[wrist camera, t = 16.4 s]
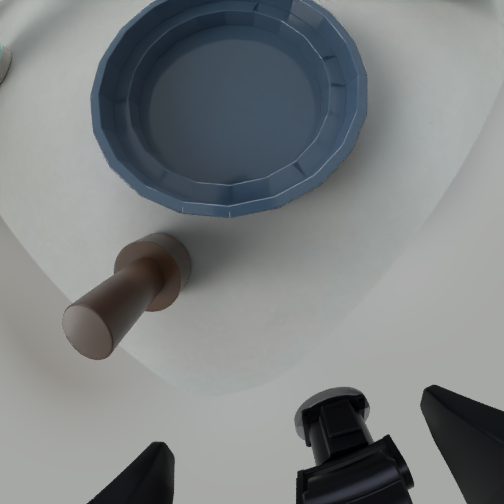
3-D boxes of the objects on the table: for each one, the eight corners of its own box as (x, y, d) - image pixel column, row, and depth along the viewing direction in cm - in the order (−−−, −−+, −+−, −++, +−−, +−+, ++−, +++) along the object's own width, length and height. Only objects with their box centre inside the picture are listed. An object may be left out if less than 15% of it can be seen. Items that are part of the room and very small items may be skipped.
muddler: (198, 288, 19) (155, 379, 9) (142, 298, 19) (71, 379, 9) (182, 226, 18) (112, 267, 8) (124, 240, 18) (30, 286, 8)
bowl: (362, 187, 17) (394, 188, 13) (143, 233, 18) (114, 245, 13) (309, 6, 14) (321, -27, 10) (116, 47, 14) (90, 22, 10)
